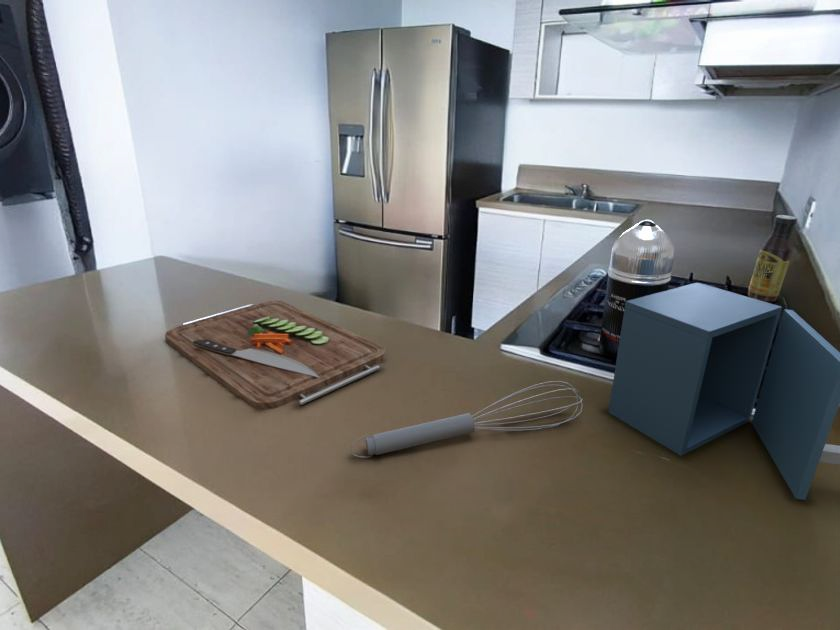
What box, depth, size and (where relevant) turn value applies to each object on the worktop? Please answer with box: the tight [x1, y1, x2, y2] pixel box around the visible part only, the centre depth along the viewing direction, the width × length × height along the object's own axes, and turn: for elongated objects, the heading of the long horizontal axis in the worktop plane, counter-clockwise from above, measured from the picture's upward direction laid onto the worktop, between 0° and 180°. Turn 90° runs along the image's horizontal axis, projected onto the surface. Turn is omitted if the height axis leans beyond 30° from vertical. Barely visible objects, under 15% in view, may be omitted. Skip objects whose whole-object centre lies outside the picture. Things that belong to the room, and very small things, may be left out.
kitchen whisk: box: [350, 380, 584, 459], centre depth 69 cm, size 6×34×6 cm, turn 106°
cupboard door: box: [751, 308, 840, 501], centre depth 62 cm, size 7×16×18 cm, turn 165°
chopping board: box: [164, 300, 386, 410], centre depth 97 cm, size 45×27×3 cm, turn 46°
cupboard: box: [608, 281, 783, 457], centre depth 71 cm, size 12×16×18 cm
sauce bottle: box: [747, 214, 798, 303], centre depth 117 cm, size 7×6×20 cm
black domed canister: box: [598, 219, 676, 361], centre depth 90 cm, size 10×10×25 cm
